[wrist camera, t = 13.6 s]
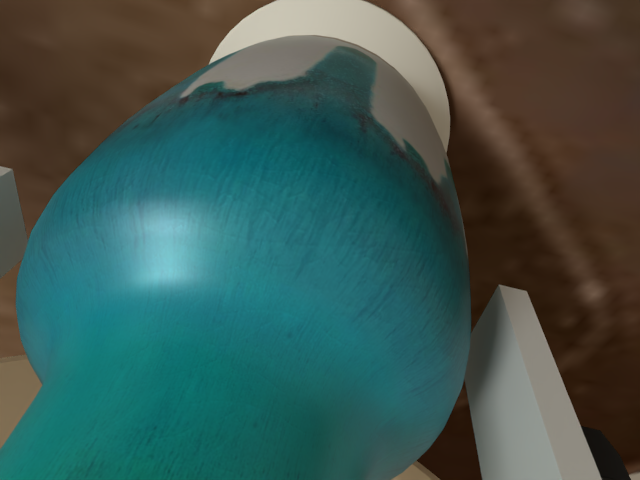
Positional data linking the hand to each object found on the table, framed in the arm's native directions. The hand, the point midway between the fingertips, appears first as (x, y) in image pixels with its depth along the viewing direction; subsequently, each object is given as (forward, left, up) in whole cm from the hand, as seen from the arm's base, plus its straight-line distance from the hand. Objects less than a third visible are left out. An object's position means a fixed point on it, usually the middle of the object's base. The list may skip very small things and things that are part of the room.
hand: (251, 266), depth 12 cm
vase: (+1, 0, -11) cm, 11 cm away
